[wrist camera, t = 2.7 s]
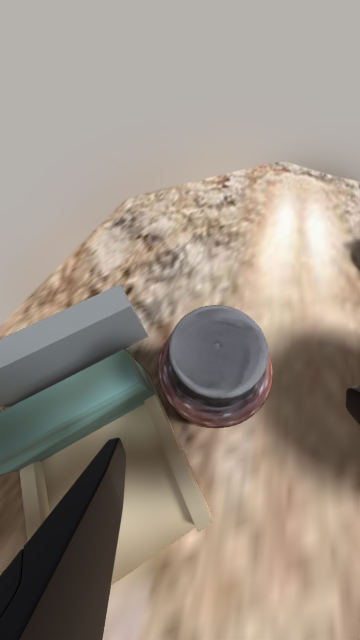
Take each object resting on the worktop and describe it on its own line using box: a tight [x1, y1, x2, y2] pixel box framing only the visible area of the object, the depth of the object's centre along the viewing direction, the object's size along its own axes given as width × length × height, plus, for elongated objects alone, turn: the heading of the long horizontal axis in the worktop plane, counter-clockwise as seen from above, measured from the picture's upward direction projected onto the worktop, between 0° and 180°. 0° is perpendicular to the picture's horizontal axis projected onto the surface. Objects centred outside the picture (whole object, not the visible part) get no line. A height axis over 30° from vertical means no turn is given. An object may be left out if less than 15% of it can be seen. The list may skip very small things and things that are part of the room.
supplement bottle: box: [158, 305, 273, 428], centre depth 13 cm, size 6×6×11 cm
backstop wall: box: [0, 285, 148, 406], centre depth 18 cm, size 4×14×6 cm, turn 118°
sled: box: [0, 349, 212, 585], centre depth 13 cm, size 11×11×7 cm
